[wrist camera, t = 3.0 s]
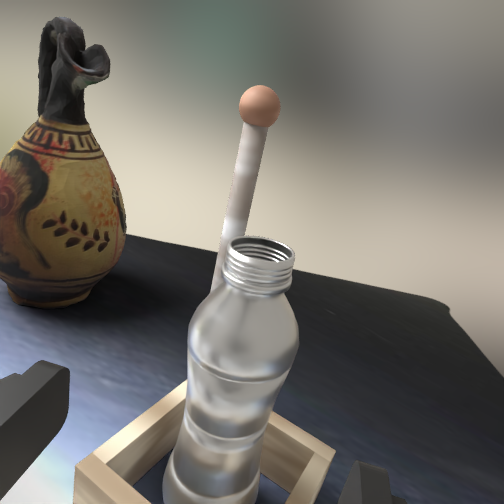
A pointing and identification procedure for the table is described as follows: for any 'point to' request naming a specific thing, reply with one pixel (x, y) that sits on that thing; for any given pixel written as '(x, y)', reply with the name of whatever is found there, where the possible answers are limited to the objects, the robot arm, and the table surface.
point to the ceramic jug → (60, 184)
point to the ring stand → (172, 405)
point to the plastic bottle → (234, 376)
